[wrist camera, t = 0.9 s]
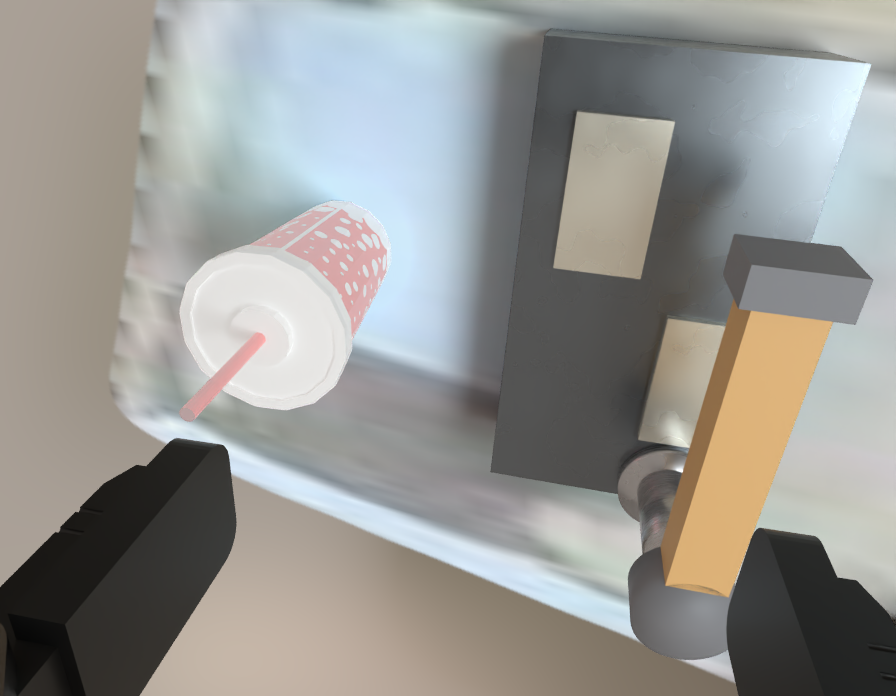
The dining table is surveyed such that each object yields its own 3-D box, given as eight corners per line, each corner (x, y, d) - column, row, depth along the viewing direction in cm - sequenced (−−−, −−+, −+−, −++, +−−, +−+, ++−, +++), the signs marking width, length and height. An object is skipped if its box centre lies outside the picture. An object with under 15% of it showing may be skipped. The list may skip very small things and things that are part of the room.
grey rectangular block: (551, 28, 26) (532, 48, 17) (831, 52, 24) (952, 86, 16) (498, 438, 35) (470, 578, 26) (700, 472, 33) (735, 629, 25)
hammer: (718, 232, 19) (735, 262, 17) (856, 248, 18) (890, 282, 16) (619, 601, 26) (621, 654, 24) (717, 619, 25) (728, 676, 23)
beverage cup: (274, 289, 33) (90, 465, 21) (287, 166, 30) (80, 288, 18) (395, 324, 33) (279, 524, 21) (420, 204, 30) (302, 354, 18)
